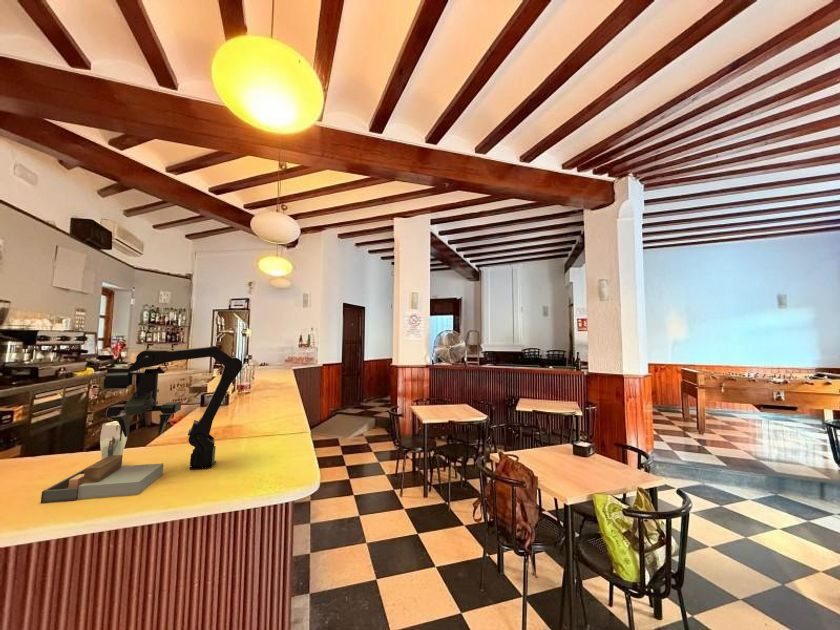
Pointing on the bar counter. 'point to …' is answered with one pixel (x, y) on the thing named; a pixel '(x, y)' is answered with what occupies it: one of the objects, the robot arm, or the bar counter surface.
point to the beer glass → (112, 439)
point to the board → (122, 482)
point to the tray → (61, 491)
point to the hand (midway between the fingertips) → (143, 435)
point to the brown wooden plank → (102, 468)
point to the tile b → (76, 481)
